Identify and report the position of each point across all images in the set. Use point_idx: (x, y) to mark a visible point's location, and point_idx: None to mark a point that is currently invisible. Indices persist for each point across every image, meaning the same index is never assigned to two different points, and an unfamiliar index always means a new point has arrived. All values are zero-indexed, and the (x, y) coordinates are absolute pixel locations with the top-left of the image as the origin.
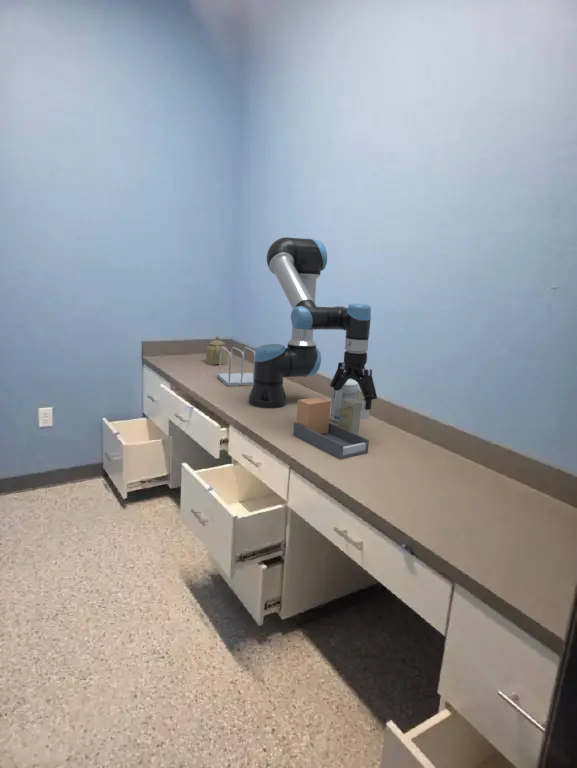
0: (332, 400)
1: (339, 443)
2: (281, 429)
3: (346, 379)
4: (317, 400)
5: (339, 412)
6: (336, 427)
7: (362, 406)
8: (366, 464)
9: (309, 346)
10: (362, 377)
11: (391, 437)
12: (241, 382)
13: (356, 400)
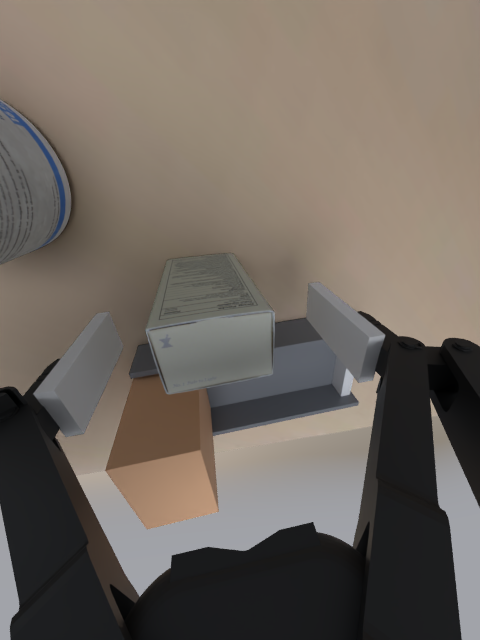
0: None
1: (345, 405)
2: (113, 426)
3: (92, 532)
4: (173, 486)
5: (28, 249)
6: None
7: (336, 353)
8: None
9: None
10: (400, 565)
11: (303, 110)
12: None
13: (222, 325)
